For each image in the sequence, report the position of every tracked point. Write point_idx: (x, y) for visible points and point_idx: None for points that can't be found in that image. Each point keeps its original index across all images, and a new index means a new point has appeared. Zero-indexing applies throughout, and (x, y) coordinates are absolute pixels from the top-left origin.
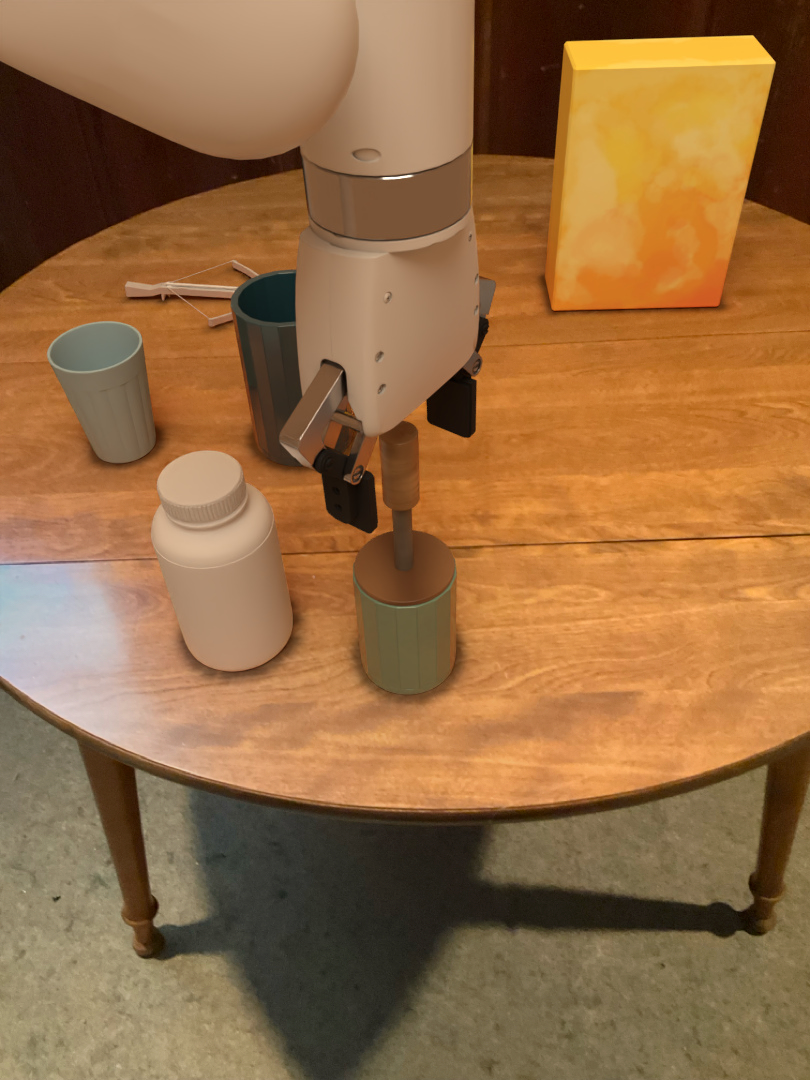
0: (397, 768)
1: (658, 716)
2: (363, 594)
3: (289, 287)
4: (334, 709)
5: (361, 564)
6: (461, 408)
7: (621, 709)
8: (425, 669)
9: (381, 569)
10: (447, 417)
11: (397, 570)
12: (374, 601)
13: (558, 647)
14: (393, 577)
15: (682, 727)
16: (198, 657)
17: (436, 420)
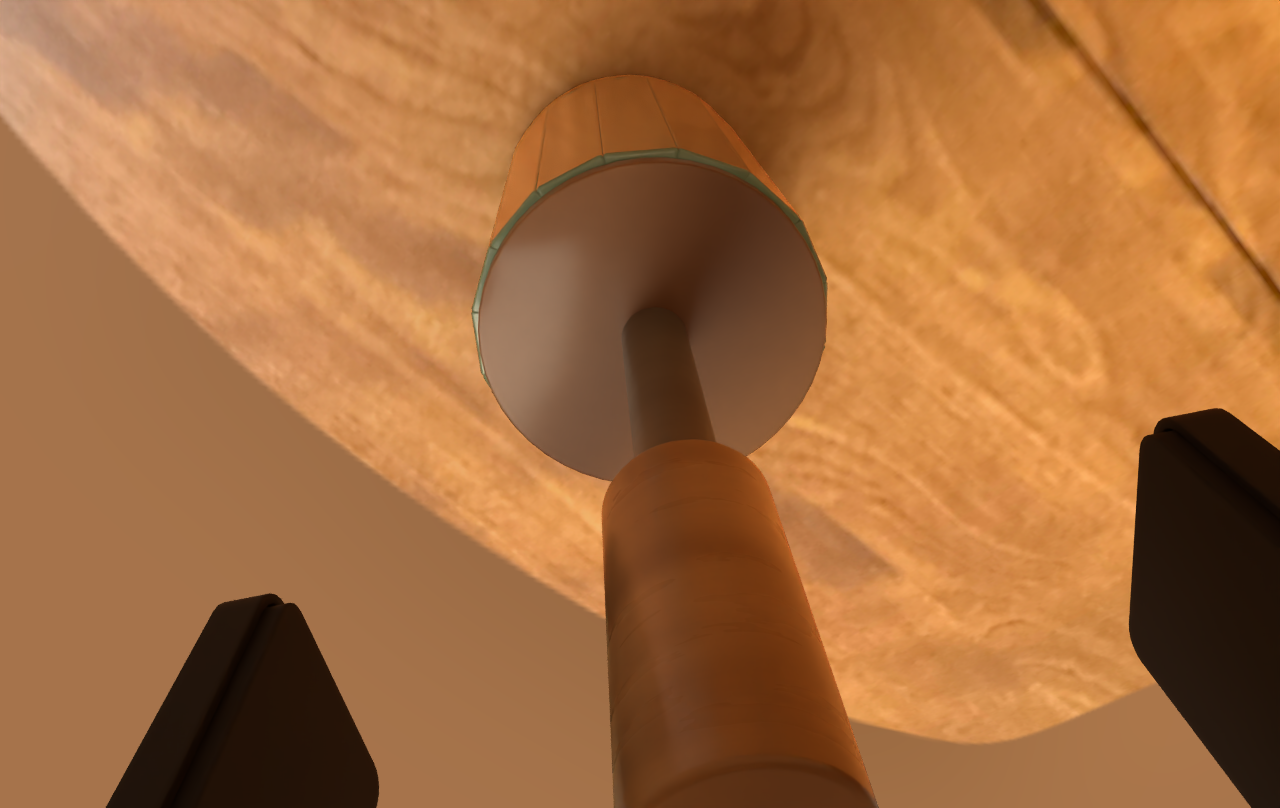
0: (409, 403)
1: (868, 619)
2: (473, 323)
3: None
4: (382, 196)
5: (543, 237)
6: (1245, 765)
7: (838, 575)
8: None
9: (580, 304)
10: (1187, 606)
11: (618, 342)
12: (481, 370)
13: (891, 411)
14: (586, 356)
15: (874, 653)
16: None
17: (1163, 503)
